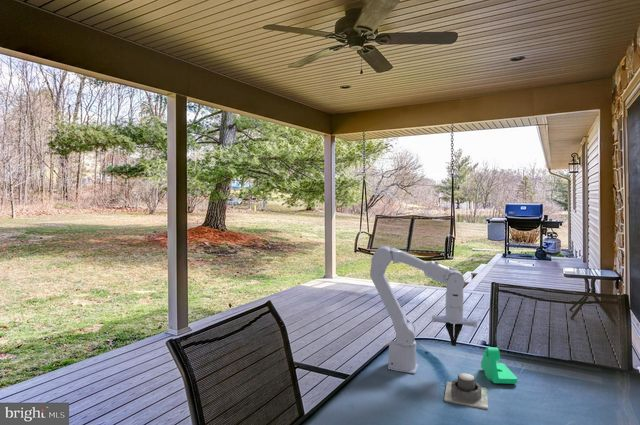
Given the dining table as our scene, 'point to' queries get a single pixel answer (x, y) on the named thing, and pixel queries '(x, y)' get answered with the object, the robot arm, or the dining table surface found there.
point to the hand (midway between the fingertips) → (453, 344)
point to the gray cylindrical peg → (466, 382)
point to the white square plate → (466, 395)
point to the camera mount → (496, 367)
